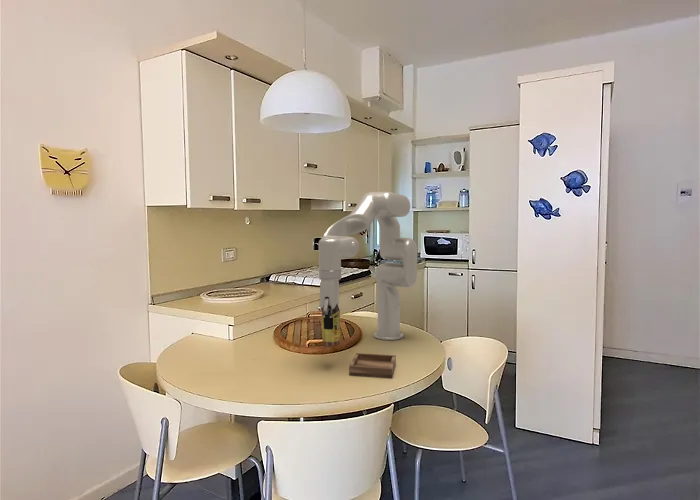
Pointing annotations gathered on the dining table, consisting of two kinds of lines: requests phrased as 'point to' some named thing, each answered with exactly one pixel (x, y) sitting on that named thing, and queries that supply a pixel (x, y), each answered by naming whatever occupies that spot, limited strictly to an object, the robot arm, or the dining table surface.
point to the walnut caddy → (372, 365)
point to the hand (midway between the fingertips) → (331, 325)
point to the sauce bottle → (332, 335)
